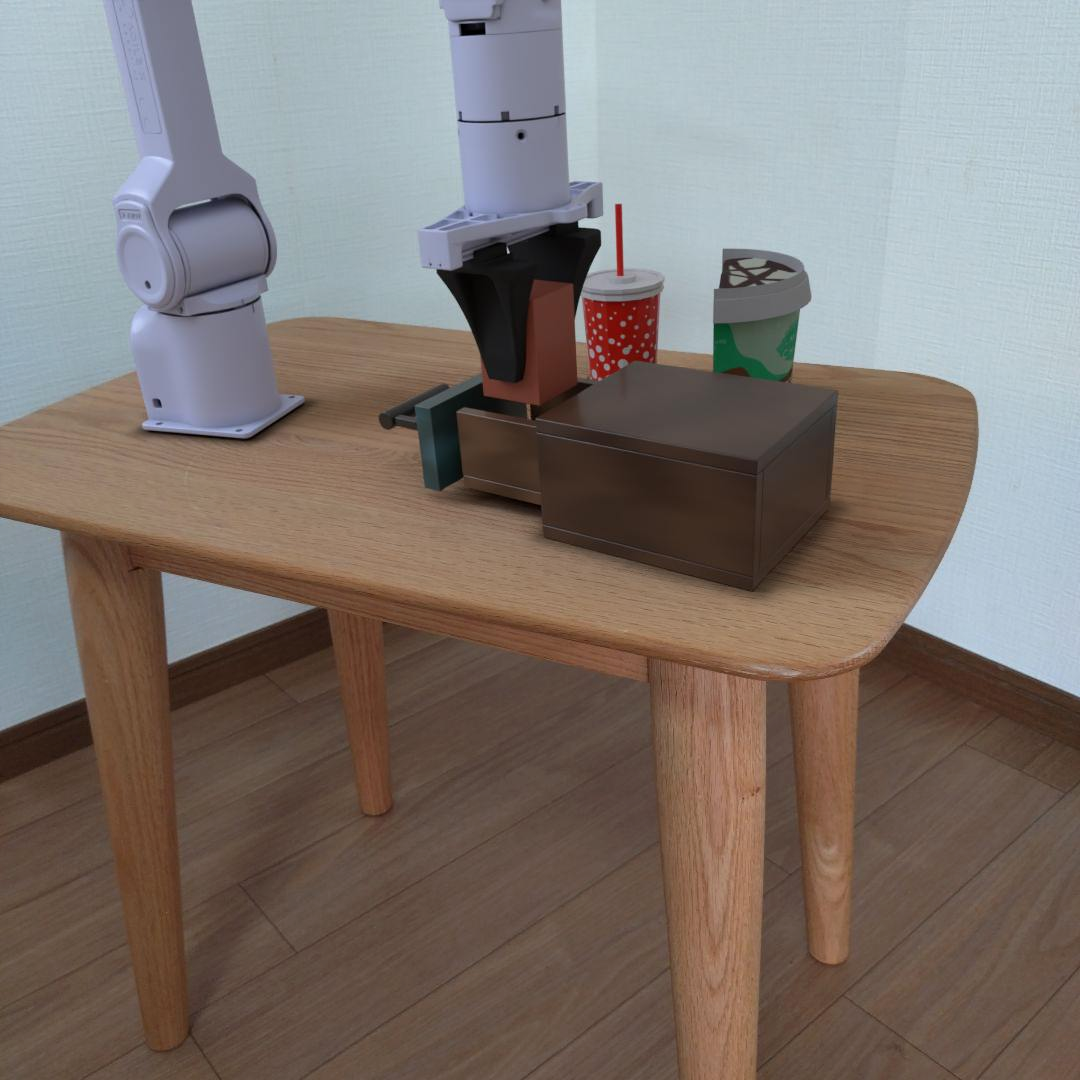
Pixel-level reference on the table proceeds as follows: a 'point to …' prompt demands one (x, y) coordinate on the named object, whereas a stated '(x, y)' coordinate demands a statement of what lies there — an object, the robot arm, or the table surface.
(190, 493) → the table surface
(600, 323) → the beverage cup
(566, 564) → the table surface
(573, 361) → the block
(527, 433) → the drawer
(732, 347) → the food container
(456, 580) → the table surface
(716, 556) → the cabinet
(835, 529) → the table surface
